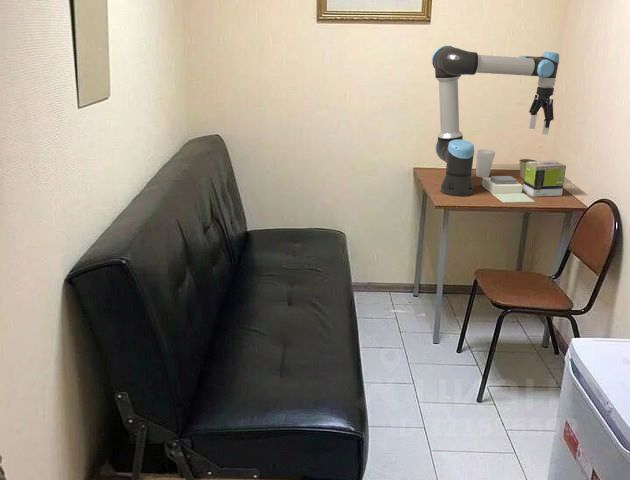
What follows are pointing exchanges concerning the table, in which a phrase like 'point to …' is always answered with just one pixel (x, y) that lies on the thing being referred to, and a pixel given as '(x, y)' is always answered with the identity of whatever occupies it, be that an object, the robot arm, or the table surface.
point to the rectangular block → (503, 180)
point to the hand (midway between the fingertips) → (538, 131)
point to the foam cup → (484, 162)
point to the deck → (501, 187)
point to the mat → (513, 198)
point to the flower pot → (523, 166)
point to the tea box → (544, 178)
